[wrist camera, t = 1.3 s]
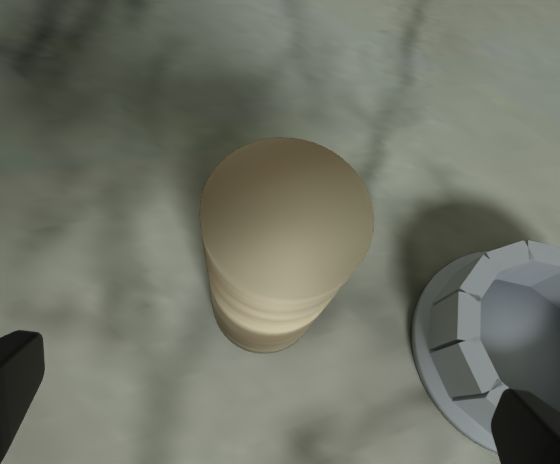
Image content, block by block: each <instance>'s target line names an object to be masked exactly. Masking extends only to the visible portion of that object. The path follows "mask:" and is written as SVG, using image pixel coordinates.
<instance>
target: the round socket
mask: <svg viewBox="0 0 560 464" xmlns="http://www.w3.org/2000/svg"><path fill="white" fill-rule="evenodd" d="M411 341H412V349H413V356H414V360H415V364H416V368H417V371H418V373H419V376H420V379H421V381H422V383H423V385H424V387H425V389H426V391H427V393H428V395H429V397H430V398H431V400H432V401H433V403H434V404H435V406H436V407H437V409H438V410H439V411H440V412H441V414H442V415H443V416H444V417H445V418H446V420H448V421H449V422H450V423H451V424H452V425H453V426H454V427H455V428H456V429H457V430H458V431H459V432H461V433H462V434H463V435H465V436H466V437H467V438H468V439H470V440H472V441H473V442H475V443H477V444H478V445H480V446H482V447H484V448H486V449H488V450H491V451H493V452H495V453H498V452H497V449H496V446H495V442H494V439H493V436H492V432H491V420H492V417H493V414H494V412H495V409H496V407H497V404H498V402H499V399H500V397H501V395H502V393H503V391H504V390H505V389H508V388H513V389H522V390H527V391H529V392H531V393H533V394H534V395H535V396H537V397H538V398H540V399H541V400H543V401H544V402H546V403H547V404H549V405H550V406H552V407H553V408H554V409H556V410H557V411H559V412H560V247H558V246H553V245H549V244H544V243H540V242H535V241H530V240H527V241H524V240H523V241H520V242H517V243H514V244H510V245H507V246H504V247H501V248H498V249H495V250H492V251H484V252H477V253H473V254H469V255H466V256H463V257H461V258H458V259H456V260H455V261H453V262H451V263H450V264H448V265H447V266H445V267H444V268H443V269H441V270H440V271H439V272H438V273H437V274H435V275H434V276H433V277H432V279H431V280H430V281H429V282H428V283H427V285H426V286H425V288H424V289H423V291H422V292H421V295H420V297H419V299H418V301H417V304H416V307H415V311H414V314H413V321H412V335H411Z"/></svg>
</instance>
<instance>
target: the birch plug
mask: <svg viewBox="0 0 560 464" xmlns="http://www.w3.org/2000/svg"><path fill="white" fill-rule="evenodd" d="M200 224H201V231H202V237H203V244H204V251H205V257H206V264H207V270H208V277H209V284H210V290H211V297H212V303H213V310H214V315H215V318H216V321H217V324H218V326H219V328H220V329H221V331H222V332H223V334H224V335H225V336H226V337H227V338H228V339H229V340H230V341H231V342H232V343H234V344H235V345H237V346H238V347H240V348H242V349H244V350H247V351H250V352H254V353H274V352H278V351H281V350H283V349H286V348H288V347H289V346H291V345H293V344H294V343H295V342H296V341H298V340H299V339H300V338H301V337H302V335H303V334H304V333H305V332H306V330H307V329H308V328H309V327H310V325H311V324H312V323H313V322H314V321H315V319H316V318H317V317H318V316H319V314H320V313H321V312H322V311H323V309H324V308H325V307H326V306H327V304H328V303H329V302H330V301H331V299H332V298H333V297H334V296H335V294H336V293H337V292H338V291H339V289H340V288H341V287H342V286H343V285H344V283H345V282H346V281H347V280H348V278H349V277H350V276H351V275H352V273H353V272H354V271H355V270H356V268H357V267H358V266H359V264H360V263H361V262H362V260H363V259H364V257H365V255H366V253H367V251H368V249H369V246H370V243H371V240H372V236H373V230H374V213H373V207H372V202H371V199H370V196H369V193H368V191H367V189H366V187H365V185H364V183H363V181H362V180H361V178H360V177H359V175H358V174H357V173H356V171H355V170H354V169H353V168H352V167H351V166H350V165H349V164H348V163H347V162H346V161H345V160H343V159H342V158H341V157H340V156H338V155H337V154H335V153H334V152H332V151H331V150H329V149H327V148H325V147H323V146H321V145H318V144H316V143H313V142H309V141H306V140H302V139H295V138H283V137H281V138H269V139H263V140H259V141H256V142H252V143H250V144H247V145H245V146H243V147H241V148H239V149H237V150H235V151H234V152H232V153H231V154H230V155H228V156H227V157H226V158H224V159H223V160H222V161H221V162H220V163H219V164H218V165H217V167H216V168H215V169H214V171H213V172H212V173H211V175H210V177H209V179H208V180H207V182H206V185H205V187H204V190H203V193H202V197H201V202H200Z"/></svg>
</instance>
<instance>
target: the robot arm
mask: <svg viewBox="0 0 560 464" xmlns="http://www.w3.org/2000/svg"><path fill="white" fill-rule="evenodd" d="M44 371H45V363H44V347H43V338H42V335H41V334H40V333H38V332H32V331H24V330H17V331H14V332H12V333H10V334H8V335H5V336H3V337H1V338H0V464H1V462H2V460H3V459H4V457H5V455H6V453H7V451H8V449H9V447H10V445H11V443H12V441H13V439H14V437H15V435H16V433H17V431H18V429H19V427H20V425H21V423H22V421H23V419H24V417H25V415H26V413H27V410H28V408H29V406H30V404H31V402H32V400H33V398H34V396H35V394H36V392H37V390H38V388H39V386H40V384H41V382H42V379H43V376H44ZM491 432H492V436H493V439H494V442H495V446H496V449H497V452H498V456H499V459H500V462H501V464H560V412H559V411H557V410H556V409H554V408H553V407H552V406H550V405H549V404H547V403H546V402H544V401H543V400H541V399H540V398H538V397H537V396H535V395H534V394H533V393H531V392H529V391H527V390H522V389H513V388H508V389H505V390H504V391H503V393H502V395H501V397H500V399H499V402H498V404H497V407H496V409H495V412H494V414H493V417H492V420H491Z"/></svg>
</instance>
